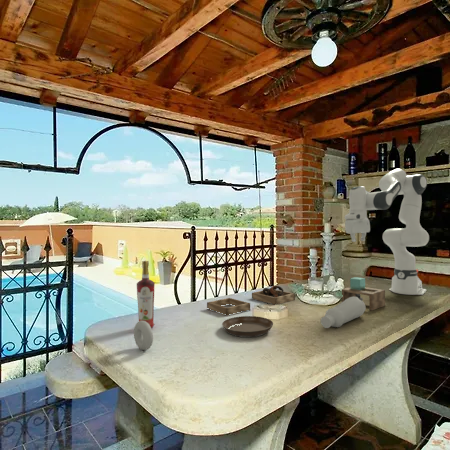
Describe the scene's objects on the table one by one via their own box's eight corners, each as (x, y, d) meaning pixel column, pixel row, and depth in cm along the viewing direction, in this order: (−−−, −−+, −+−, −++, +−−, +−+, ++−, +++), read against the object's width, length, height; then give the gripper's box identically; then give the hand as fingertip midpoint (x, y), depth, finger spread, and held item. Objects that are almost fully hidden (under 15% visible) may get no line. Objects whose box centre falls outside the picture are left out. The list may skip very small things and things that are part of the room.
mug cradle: (271, 294, 195) (270, 288, 195) (294, 299, 181) (294, 293, 181) (251, 298, 184) (251, 292, 184) (275, 304, 170) (275, 298, 170)
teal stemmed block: (355, 298, 173) (355, 277, 173) (365, 300, 169) (365, 278, 169) (350, 300, 170) (350, 278, 170) (360, 301, 166) (359, 279, 166)
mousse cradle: (229, 304, 173) (229, 297, 173) (250, 310, 160) (250, 303, 160) (207, 309, 163) (206, 302, 163) (227, 316, 151) (227, 308, 151)
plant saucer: (212, 329, 132) (212, 321, 132) (249, 320, 145) (249, 312, 145) (244, 344, 116) (244, 335, 116) (284, 331, 128) (284, 323, 128)
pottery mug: (280, 296, 191) (284, 286, 188) (281, 307, 183) (285, 296, 179) (260, 291, 191) (264, 281, 187) (260, 302, 183) (264, 291, 179)
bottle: (343, 305, 153) (311, 322, 132) (353, 291, 150) (322, 306, 128) (360, 319, 148) (329, 338, 127) (370, 305, 145) (341, 322, 123)
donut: (132, 347, 114) (131, 318, 114) (140, 344, 116) (140, 316, 116) (146, 355, 107) (145, 325, 107) (155, 352, 109) (154, 322, 109)
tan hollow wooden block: (355, 300, 178) (355, 285, 178) (385, 305, 165) (385, 290, 165) (341, 304, 169) (341, 289, 169) (371, 310, 157) (371, 294, 157)
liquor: (136, 331, 130) (135, 262, 130) (137, 326, 138) (136, 260, 138) (155, 330, 132) (154, 262, 132) (155, 324, 139) (154, 260, 139)
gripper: (362, 216, 185) (362, 240, 185) (342, 216, 172) (343, 242, 172) (372, 215, 180) (373, 240, 180) (353, 215, 167) (354, 242, 167)
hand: (358, 241), depth 176 cm, fingers open, 8 cm apart
